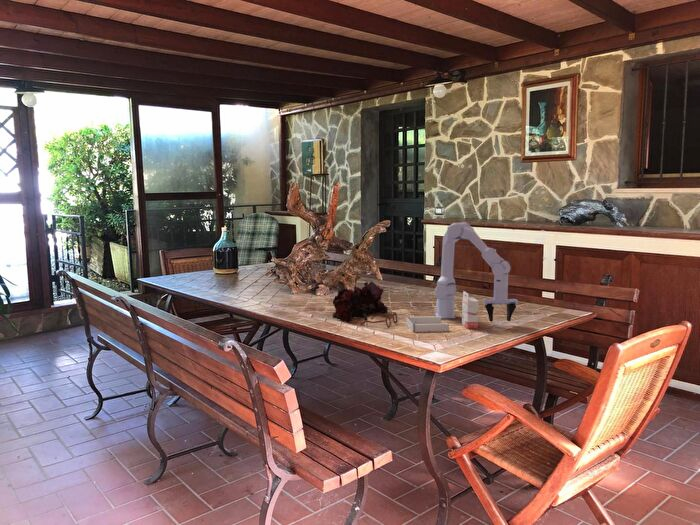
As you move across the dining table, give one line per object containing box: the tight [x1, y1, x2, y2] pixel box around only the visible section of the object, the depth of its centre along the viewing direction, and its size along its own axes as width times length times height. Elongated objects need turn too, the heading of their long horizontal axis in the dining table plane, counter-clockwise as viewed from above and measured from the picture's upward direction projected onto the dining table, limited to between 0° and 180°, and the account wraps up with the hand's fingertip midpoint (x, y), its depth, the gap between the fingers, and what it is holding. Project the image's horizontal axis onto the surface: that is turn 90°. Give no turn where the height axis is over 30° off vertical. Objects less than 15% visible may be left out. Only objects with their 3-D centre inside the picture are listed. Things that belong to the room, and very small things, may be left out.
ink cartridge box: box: [461, 290, 480, 329], centre depth 231 cm, size 9×5×15 cm, turn 4°
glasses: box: [359, 311, 398, 328], centre depth 238 cm, size 13×13×5 cm
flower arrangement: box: [332, 281, 388, 323], centre depth 254 cm, size 31×20×15 cm, turn 142°
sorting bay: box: [406, 315, 450, 333], centre depth 230 cm, size 14×15×3 cm
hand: (499, 321), depth 232 cm, fingers open, 7 cm apart
